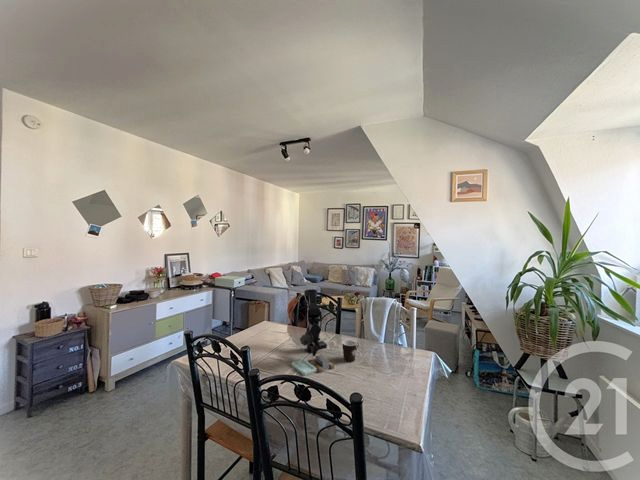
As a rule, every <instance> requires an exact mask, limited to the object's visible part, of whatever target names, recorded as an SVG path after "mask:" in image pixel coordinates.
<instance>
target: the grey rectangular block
mask: <svg viewBox="0 0 640 480" xmlns="http://www.w3.org/2000/svg"><path fill="white" fill-rule="evenodd" d="M315 358H316V363H317V364H318V365H319V366H321V367H322V368H323V372H324V371H328V370H330V368H329V362H330V360H329V359H328V358H327V357H325V356H324V355H322V354H321V355H315Z"/></svg>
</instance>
